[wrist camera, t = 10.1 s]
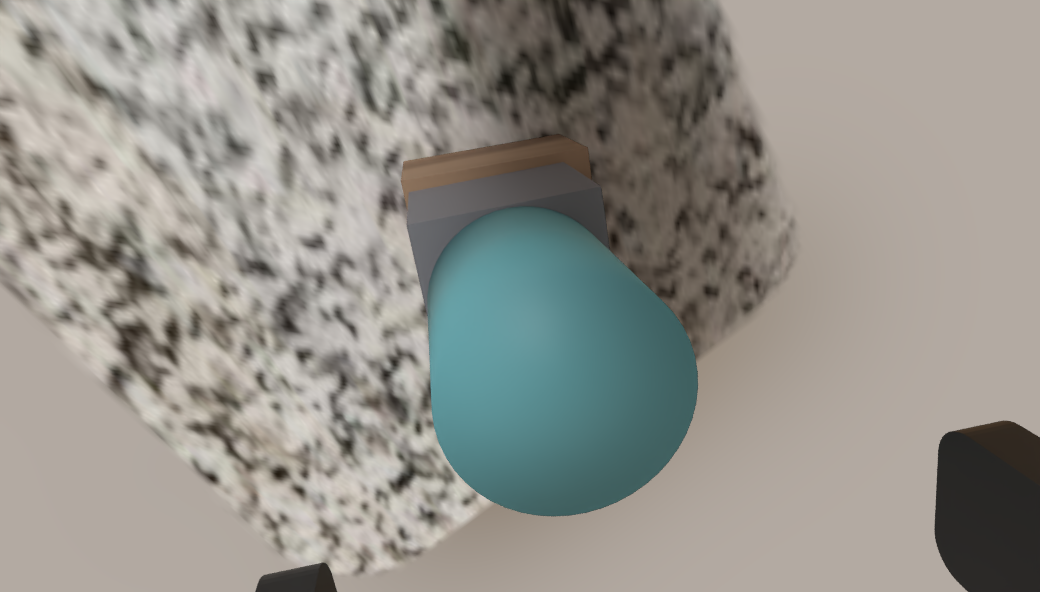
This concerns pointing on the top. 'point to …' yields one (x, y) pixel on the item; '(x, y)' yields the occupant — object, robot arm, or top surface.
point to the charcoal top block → (498, 207)
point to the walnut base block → (493, 162)
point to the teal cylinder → (552, 366)
